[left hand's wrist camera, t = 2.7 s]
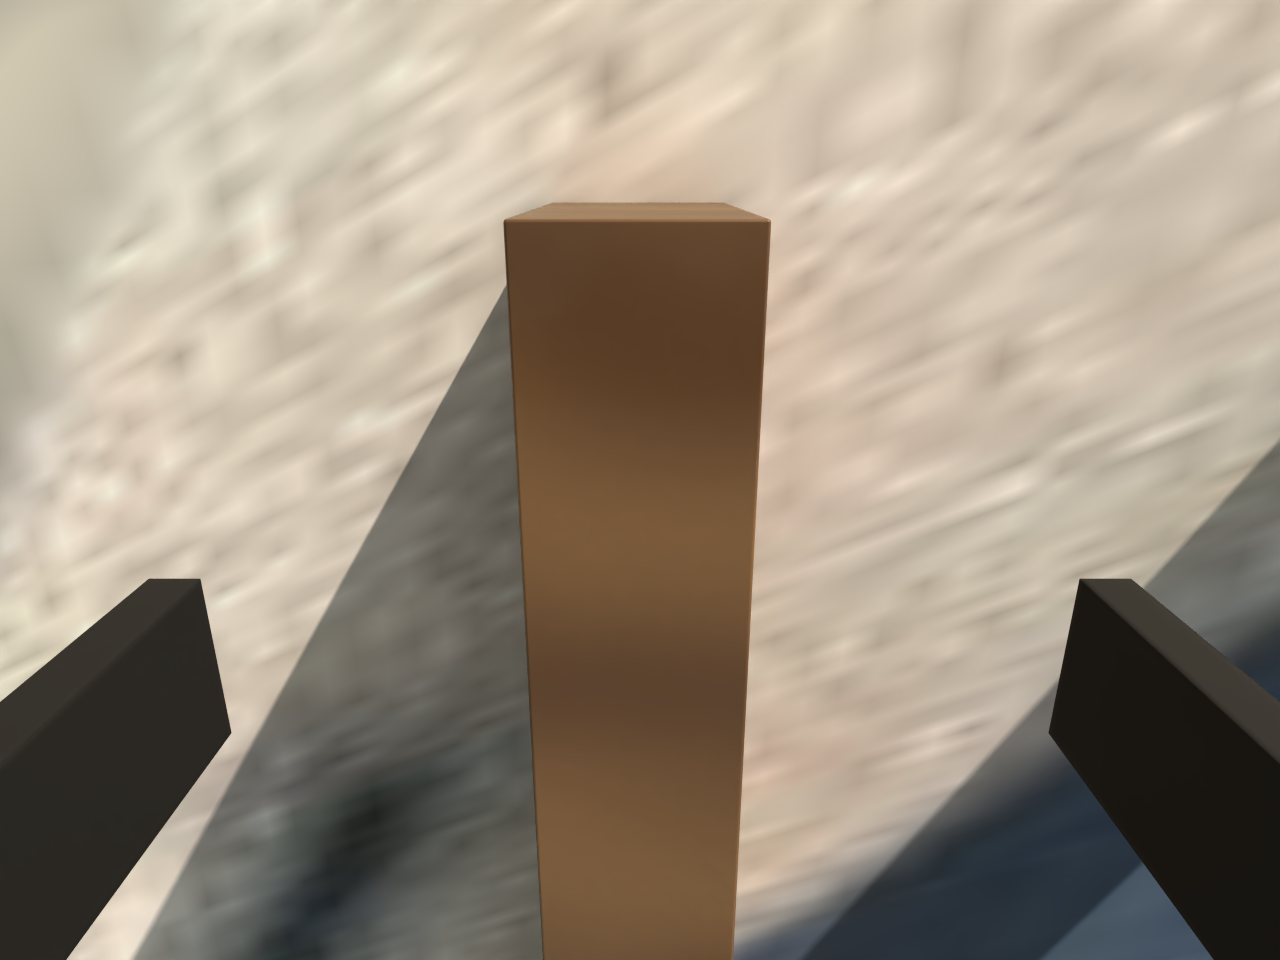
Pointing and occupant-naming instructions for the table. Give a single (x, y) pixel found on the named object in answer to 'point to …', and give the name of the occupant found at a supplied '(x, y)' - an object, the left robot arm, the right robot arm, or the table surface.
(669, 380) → the beam
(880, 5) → the table surface
